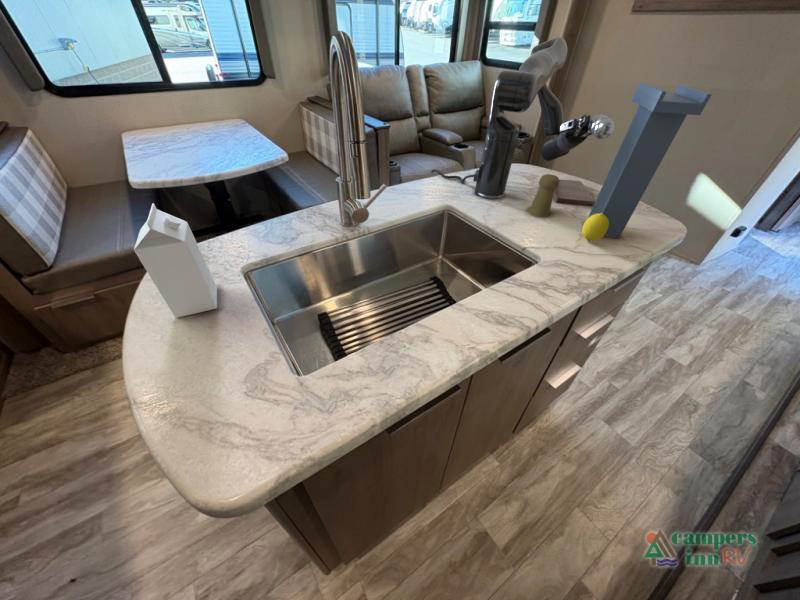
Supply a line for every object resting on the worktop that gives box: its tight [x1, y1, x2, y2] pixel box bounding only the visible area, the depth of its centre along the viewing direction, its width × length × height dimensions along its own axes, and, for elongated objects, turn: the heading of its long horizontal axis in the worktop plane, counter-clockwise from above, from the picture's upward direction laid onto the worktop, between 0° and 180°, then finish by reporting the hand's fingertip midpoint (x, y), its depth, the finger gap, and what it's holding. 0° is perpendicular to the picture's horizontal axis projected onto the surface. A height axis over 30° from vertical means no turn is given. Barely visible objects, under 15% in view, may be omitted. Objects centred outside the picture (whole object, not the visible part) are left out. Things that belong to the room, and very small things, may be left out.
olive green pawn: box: [528, 173, 560, 218], centre depth 93 cm, size 6×6×11 cm
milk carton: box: [133, 203, 218, 319], centre depth 57 cm, size 7×7×19 cm
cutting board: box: [553, 178, 595, 207], centre depth 108 cm, size 17×11×2 cm, turn 170°
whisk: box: [580, 113, 615, 140], centre depth 94 cm, size 21×5×5 cm, turn 170°
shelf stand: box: [587, 82, 712, 239], centre depth 78 cm, size 12×9×34 cm
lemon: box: [581, 213, 609, 242], centre depth 82 cm, size 6×6×8 cm
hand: (593, 119), depth 96 cm, fingers closed on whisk, 2 cm apart
